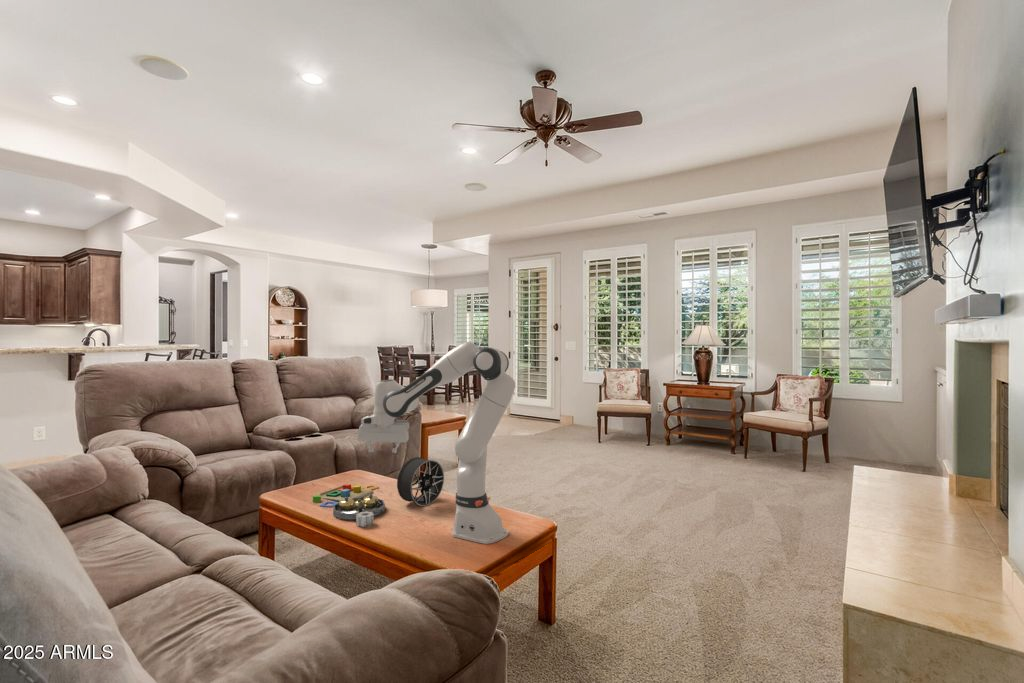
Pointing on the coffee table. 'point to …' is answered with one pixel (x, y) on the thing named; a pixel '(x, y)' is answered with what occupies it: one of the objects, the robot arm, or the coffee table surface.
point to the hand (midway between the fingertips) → (382, 452)
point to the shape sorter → (343, 493)
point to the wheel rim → (420, 481)
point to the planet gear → (364, 519)
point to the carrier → (358, 507)
